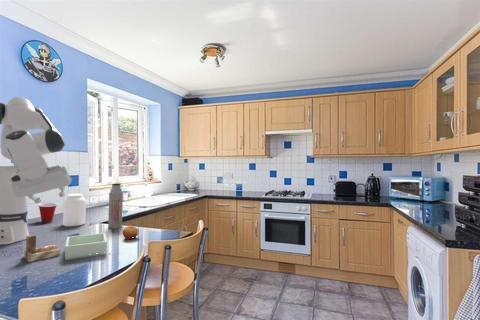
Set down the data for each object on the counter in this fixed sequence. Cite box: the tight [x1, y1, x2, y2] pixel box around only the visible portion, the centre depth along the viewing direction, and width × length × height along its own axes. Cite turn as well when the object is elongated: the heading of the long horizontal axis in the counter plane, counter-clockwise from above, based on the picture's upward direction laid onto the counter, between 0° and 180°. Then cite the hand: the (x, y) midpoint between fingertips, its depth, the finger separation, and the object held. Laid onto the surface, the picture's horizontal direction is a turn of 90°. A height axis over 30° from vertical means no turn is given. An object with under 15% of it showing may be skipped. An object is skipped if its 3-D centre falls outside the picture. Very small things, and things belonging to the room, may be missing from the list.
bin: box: [64, 232, 108, 261], centre depth 123 cm, size 16×16×6 cm
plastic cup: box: [37, 202, 58, 223], centre depth 178 cm, size 11×11×12 cm
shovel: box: [23, 234, 61, 263], centre depth 116 cm, size 11×8×10 cm
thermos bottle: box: [107, 183, 124, 229], centre depth 168 cm, size 8×8×28 cm
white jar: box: [62, 193, 87, 227], centre depth 172 cm, size 12×12×20 cm
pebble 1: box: [40, 246, 49, 252], centre depth 117 cm, size 3×3×3 cm
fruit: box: [122, 225, 139, 241], centre depth 145 cm, size 8×8×8 cm
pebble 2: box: [49, 244, 59, 251], centre depth 120 cm, size 3×3×3 cm
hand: (50, 199), depth 111 cm, fingers open, 8 cm apart
